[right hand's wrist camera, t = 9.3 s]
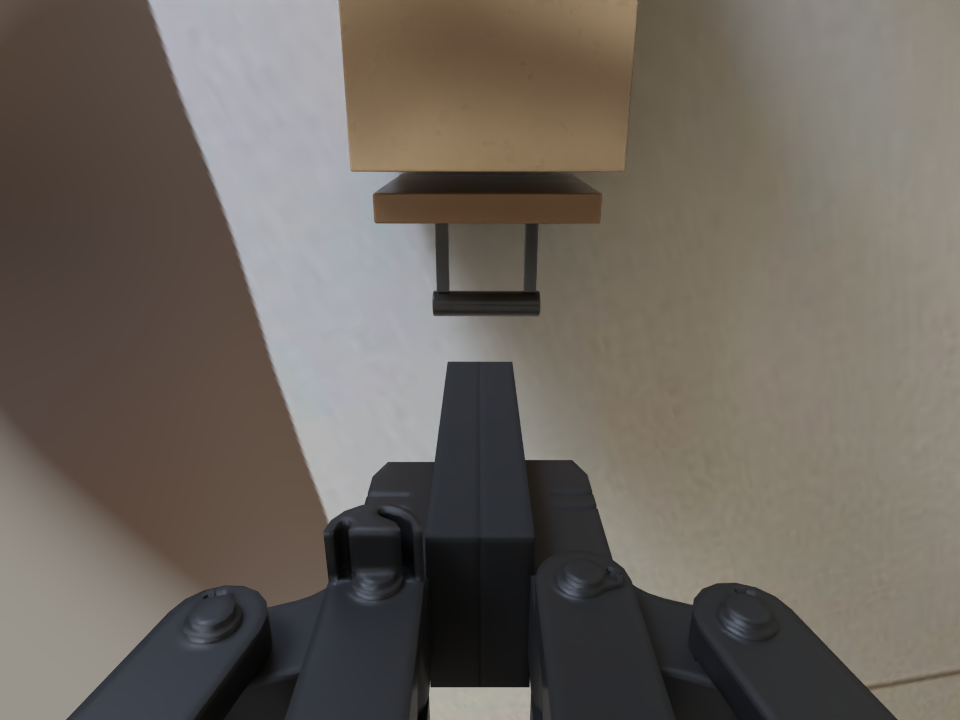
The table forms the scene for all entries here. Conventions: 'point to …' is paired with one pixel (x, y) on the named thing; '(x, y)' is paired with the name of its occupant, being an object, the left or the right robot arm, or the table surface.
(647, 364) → the table surface
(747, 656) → the right robot arm
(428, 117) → the cabinet
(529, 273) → the drawer
